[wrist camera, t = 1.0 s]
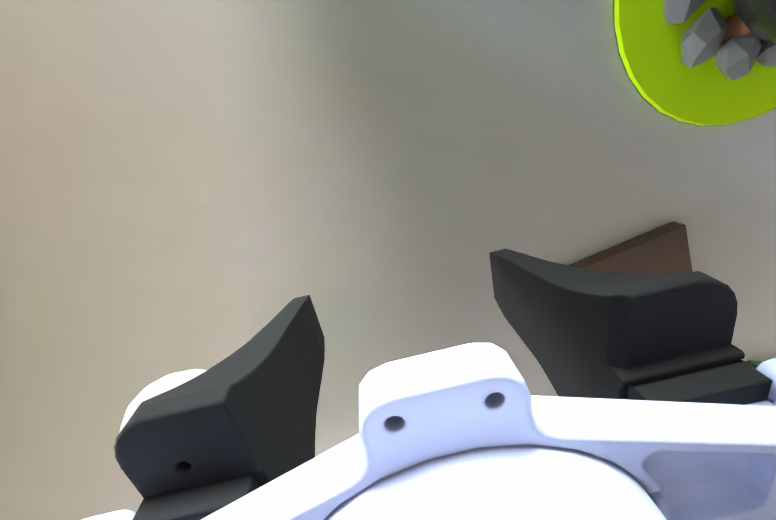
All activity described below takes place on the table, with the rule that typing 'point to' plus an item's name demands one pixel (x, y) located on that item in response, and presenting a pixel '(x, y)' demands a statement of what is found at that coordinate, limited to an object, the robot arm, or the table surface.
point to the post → (645, 253)
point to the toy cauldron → (700, 56)
